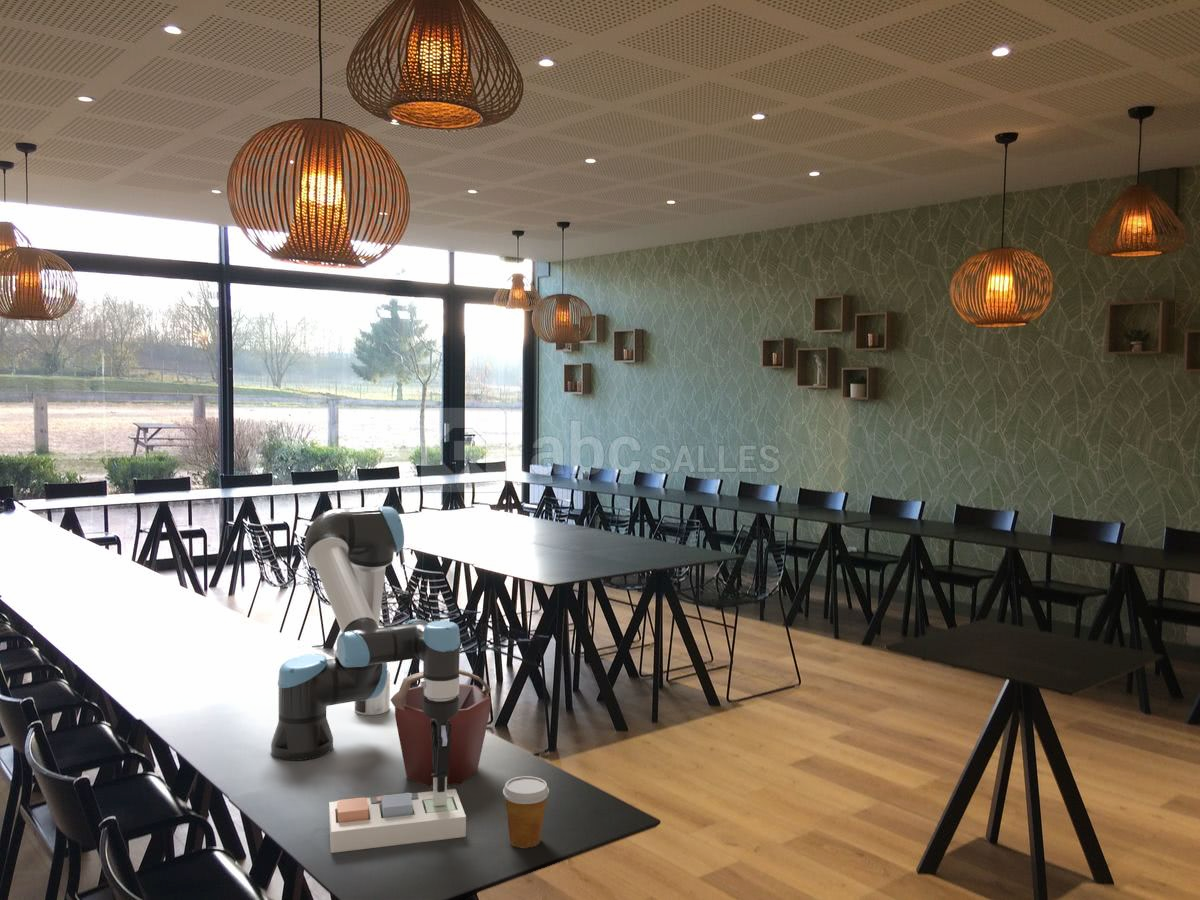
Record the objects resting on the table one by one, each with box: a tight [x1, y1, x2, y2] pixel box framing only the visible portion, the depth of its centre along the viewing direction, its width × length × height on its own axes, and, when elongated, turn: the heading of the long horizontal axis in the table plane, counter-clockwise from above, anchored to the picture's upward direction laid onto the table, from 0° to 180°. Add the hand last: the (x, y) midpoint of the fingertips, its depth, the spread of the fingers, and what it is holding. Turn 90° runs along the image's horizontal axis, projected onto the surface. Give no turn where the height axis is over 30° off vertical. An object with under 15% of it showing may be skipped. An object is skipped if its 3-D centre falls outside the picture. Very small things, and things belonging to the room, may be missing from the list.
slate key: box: [380, 792, 413, 818], centre depth 198 cm, size 6×6×2 cm
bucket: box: [390, 669, 492, 787], centre depth 228 cm, size 24×22×25 cm
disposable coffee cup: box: [502, 775, 550, 849], centre depth 194 cm, size 10×10×12 cm
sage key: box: [424, 798, 456, 813], centre depth 201 cm, size 6×6×2 cm
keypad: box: [328, 788, 467, 854], centre depth 198 cm, size 14×27×5 cm, turn 107°
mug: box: [354, 668, 391, 716], centre depth 270 cm, size 10×12×11 cm
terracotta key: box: [337, 796, 368, 823], centre depth 195 cm, size 6×6×2 cm
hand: (439, 804), depth 201 cm, fingers closed
